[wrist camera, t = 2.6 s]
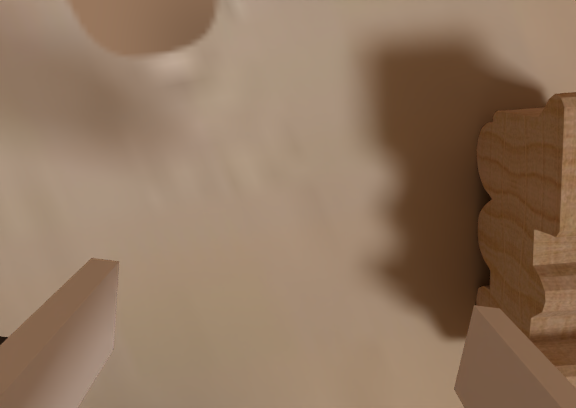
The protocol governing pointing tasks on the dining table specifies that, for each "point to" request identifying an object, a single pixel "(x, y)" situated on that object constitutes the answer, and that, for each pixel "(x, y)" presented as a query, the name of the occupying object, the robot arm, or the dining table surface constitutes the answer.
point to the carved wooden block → (532, 224)
